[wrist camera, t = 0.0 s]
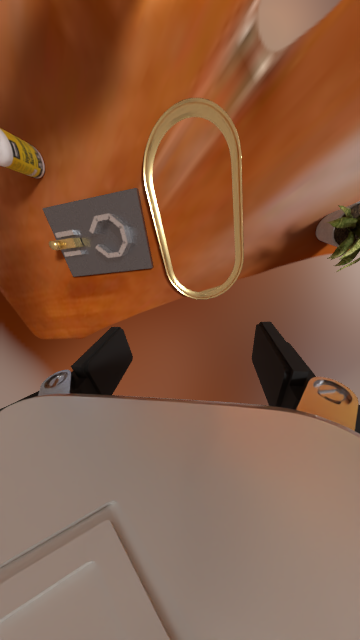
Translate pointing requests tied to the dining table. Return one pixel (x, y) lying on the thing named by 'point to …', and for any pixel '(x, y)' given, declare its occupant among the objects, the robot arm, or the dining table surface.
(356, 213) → the house plant
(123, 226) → the dock
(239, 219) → the gold oval ring
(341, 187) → the dining table surface
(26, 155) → the supplement bottle
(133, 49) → the dining table surface
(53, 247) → the bolt
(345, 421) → the robot arm
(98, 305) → the dining table surface
